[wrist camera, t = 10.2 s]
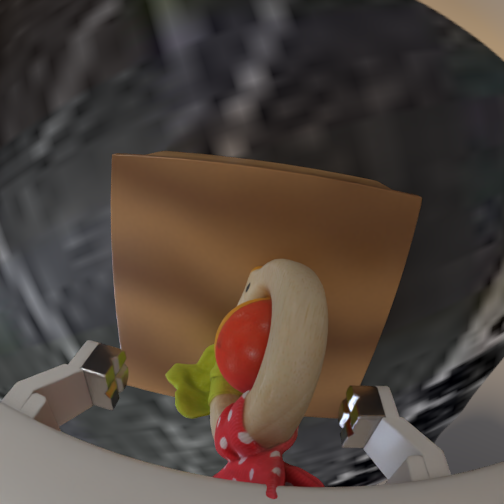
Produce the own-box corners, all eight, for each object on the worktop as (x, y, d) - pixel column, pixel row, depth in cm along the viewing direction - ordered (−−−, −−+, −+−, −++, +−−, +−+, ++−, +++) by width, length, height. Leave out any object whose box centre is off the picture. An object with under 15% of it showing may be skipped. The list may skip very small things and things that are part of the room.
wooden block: (158, 145, 18) (111, 154, 13) (382, 177, 18) (423, 197, 12) (155, 332, 23) (126, 385, 18) (333, 359, 23) (344, 418, 17)
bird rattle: (207, 239, 16) (161, 400, 16) (147, 197, 5) (86, 547, 5) (325, 276, 16) (271, 430, 16) (470, 302, 5) (307, 590, 5)
